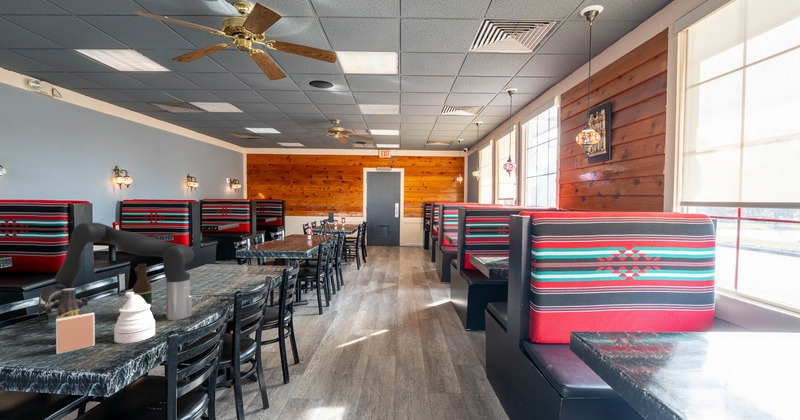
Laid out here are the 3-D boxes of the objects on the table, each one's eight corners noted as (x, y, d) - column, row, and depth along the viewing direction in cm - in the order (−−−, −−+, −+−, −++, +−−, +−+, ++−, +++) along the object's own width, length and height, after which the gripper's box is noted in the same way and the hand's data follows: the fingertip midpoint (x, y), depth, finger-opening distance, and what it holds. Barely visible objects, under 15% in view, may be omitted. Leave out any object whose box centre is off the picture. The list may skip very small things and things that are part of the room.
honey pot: (130, 345, 128) (130, 297, 128) (106, 340, 132) (105, 294, 131) (163, 332, 140) (162, 289, 140) (140, 329, 144) (139, 286, 144)
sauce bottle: (64, 345, 127) (64, 291, 127) (51, 343, 129) (50, 290, 128) (84, 338, 134) (83, 287, 134) (71, 337, 135) (70, 286, 135)
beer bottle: (155, 313, 164) (155, 263, 164) (136, 318, 157) (135, 266, 157) (148, 310, 168) (147, 262, 168) (129, 315, 162) (128, 264, 161)
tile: (94, 344, 129) (93, 312, 128) (94, 345, 127) (94, 313, 127) (56, 352, 121) (55, 319, 121) (56, 354, 120) (56, 320, 120)
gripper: (36, 295, 141) (39, 302, 131) (83, 288, 152) (89, 295, 142) (37, 313, 142) (39, 322, 131) (83, 305, 152) (89, 313, 142)
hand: (65, 308), depth 136 cm, fingers open, 8 cm apart
